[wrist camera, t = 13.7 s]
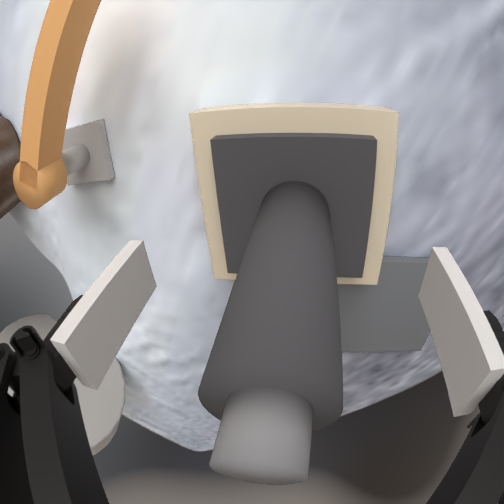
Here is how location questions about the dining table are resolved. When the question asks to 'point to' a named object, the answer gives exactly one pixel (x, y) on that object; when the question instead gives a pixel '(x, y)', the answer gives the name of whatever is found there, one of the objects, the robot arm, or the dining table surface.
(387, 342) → the mat
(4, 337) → the alarm clock
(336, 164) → the plug
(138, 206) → the dining table surface
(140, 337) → the dining table surface
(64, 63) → the orange lever handle
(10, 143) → the plant pot
